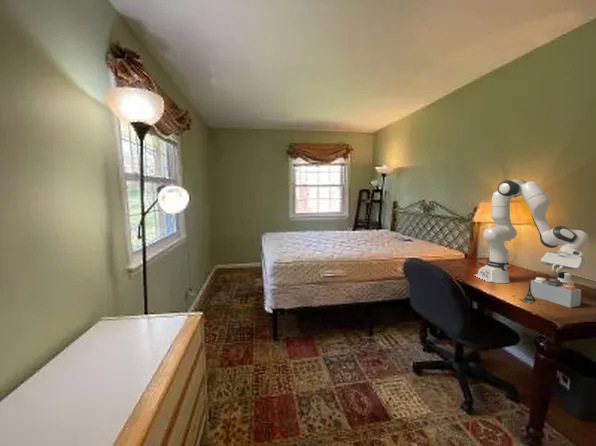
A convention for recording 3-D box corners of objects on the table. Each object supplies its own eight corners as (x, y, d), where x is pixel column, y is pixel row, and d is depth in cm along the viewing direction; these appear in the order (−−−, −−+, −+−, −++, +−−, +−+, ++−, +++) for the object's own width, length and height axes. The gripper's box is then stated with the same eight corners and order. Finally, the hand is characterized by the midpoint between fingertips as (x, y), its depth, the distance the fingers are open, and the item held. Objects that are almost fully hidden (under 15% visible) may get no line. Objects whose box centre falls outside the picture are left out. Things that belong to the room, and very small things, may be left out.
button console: (529, 294, 187) (529, 280, 186) (538, 293, 190) (539, 279, 189) (570, 307, 166) (571, 291, 165) (580, 305, 169) (581, 289, 168)
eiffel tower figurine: (510, 296, 187) (512, 275, 185) (528, 296, 186) (529, 275, 185) (527, 305, 172) (528, 282, 171) (546, 305, 171) (548, 282, 170)
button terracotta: (560, 298, 172) (561, 284, 171) (566, 297, 174) (567, 283, 173) (570, 300, 168) (571, 287, 167) (576, 299, 169) (577, 286, 168)
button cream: (533, 290, 186) (533, 277, 186) (538, 289, 188) (539, 276, 187) (541, 292, 182) (542, 279, 181) (547, 291, 183) (547, 279, 182)
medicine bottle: (553, 290, 195) (554, 272, 193) (559, 288, 197) (561, 270, 196) (566, 293, 188) (567, 274, 187) (573, 292, 191) (574, 273, 189)
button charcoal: (546, 291, 179) (547, 279, 178) (552, 290, 180) (553, 278, 180) (555, 294, 175) (556, 281, 174) (561, 293, 176) (562, 280, 175)
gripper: (545, 247, 187) (533, 264, 185) (585, 254, 167) (572, 273, 166) (550, 254, 189) (538, 271, 187) (590, 261, 169) (577, 280, 167)
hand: (554, 272), depth 176 cm, fingers closed
